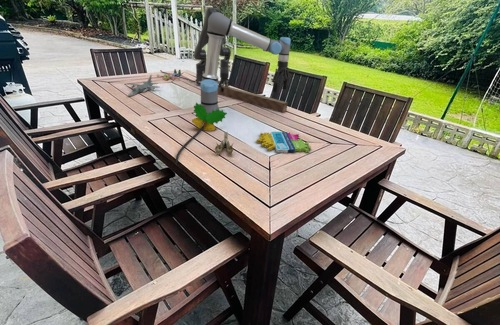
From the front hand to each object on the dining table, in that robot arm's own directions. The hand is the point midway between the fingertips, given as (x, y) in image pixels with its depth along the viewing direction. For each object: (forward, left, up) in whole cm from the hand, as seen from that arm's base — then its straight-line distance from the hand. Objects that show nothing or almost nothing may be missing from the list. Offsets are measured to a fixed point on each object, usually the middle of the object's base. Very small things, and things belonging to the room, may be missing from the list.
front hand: (279, 90), depth 199 cm
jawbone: (-65, +55, -16) cm, 86 cm away
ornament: (-32, +58, -16) cm, 68 cm away
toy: (+116, +79, -16) cm, 141 cm away
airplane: (+61, +104, -16) cm, 121 cm away
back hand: (+47, +34, -13) cm, 59 cm away
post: (+23, +17, -16) cm, 33 cm away
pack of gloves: (-59, +20, -16) cm, 64 cm away
